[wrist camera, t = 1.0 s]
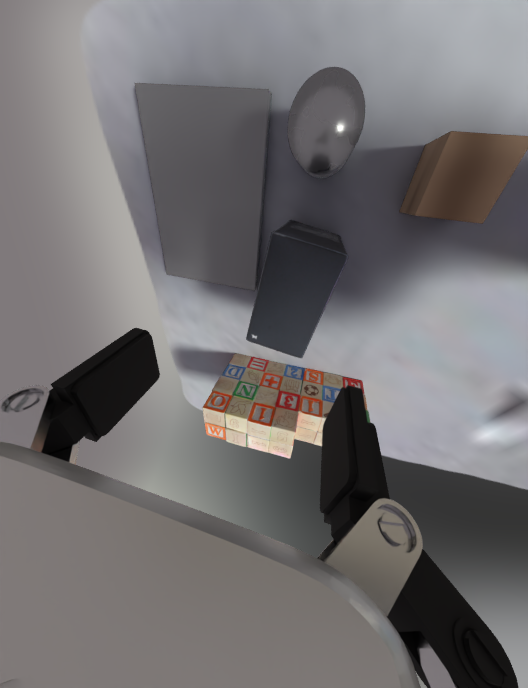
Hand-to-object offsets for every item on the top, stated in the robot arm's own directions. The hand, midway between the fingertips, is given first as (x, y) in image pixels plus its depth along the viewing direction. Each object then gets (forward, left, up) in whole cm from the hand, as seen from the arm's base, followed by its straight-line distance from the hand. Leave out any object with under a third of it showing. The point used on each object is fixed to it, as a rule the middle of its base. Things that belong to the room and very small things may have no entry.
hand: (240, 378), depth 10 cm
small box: (-1, +1, -21) cm, 21 cm away
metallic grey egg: (-1, -11, -21) cm, 24 cm away
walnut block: (-12, -9, -21) cm, 26 cm away
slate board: (+11, -5, -21) cm, 24 cm away
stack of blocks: (-3, +19, -21) cm, 28 cm away
